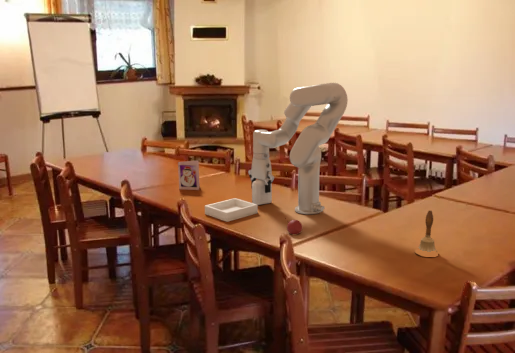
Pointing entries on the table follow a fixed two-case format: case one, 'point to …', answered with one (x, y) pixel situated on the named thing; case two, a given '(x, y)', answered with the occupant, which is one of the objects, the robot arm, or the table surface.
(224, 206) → the box
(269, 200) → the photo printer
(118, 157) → the table surface
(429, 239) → the hand bell
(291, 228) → the fruit
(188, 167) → the greeting card
